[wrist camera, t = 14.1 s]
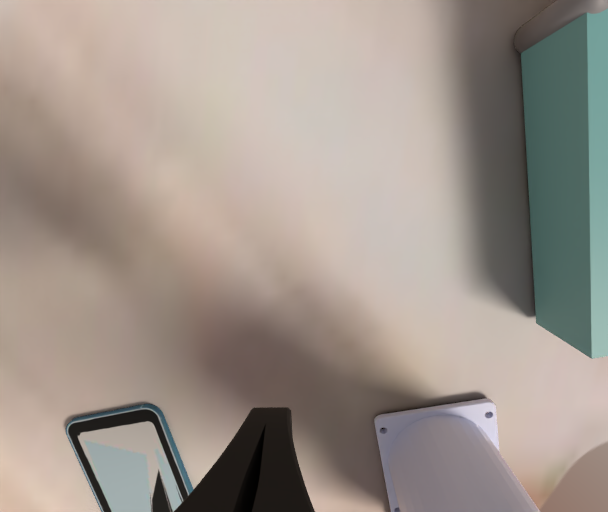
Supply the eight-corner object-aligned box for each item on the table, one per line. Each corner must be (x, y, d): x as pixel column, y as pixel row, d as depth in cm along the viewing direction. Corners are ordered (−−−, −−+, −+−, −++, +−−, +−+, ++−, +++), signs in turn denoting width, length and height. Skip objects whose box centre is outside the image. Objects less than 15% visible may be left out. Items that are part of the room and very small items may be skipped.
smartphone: (156, 404, 22) (218, 568, 25) (163, 395, 23) (222, 554, 26) (60, 423, 22) (132, 580, 25) (70, 413, 23) (138, 566, 26)
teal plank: (512, 27, 16) (582, -27, 12) (541, 19, 16) (621, -37, 12) (531, 323, 19) (588, 362, 15) (554, 319, 19) (619, 356, 15)
